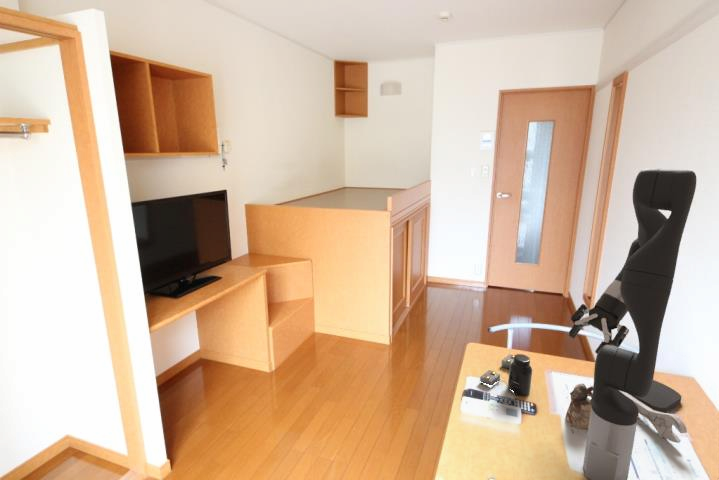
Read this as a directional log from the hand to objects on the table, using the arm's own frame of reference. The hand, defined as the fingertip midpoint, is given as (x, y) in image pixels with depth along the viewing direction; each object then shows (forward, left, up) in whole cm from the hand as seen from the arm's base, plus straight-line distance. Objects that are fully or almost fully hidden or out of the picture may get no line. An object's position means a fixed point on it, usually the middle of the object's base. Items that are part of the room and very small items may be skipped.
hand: (583, 345), depth 115 cm
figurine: (-4, -2, -22) cm, 23 cm away
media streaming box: (+24, -13, -22) cm, 35 cm away
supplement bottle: (-2, +17, -22) cm, 28 cm away
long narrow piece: (+3, +26, -22) cm, 34 cm away
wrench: (+11, -13, -22) cm, 28 cm away
